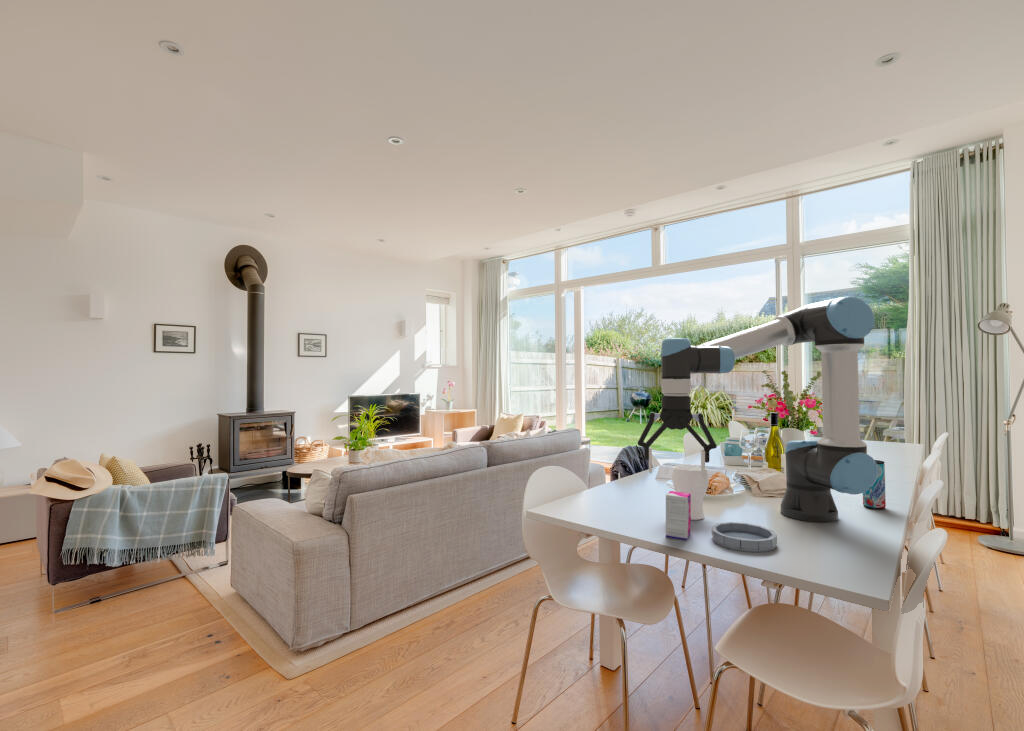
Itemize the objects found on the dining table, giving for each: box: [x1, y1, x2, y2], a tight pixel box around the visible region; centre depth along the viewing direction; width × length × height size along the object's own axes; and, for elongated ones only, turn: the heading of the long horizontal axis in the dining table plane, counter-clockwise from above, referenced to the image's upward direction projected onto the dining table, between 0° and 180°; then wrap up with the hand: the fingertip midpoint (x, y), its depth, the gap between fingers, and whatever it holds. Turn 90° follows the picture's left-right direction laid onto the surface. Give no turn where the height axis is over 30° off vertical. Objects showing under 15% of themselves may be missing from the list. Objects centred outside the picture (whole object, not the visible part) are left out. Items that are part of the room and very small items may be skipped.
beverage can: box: [862, 459, 887, 511], centre depth 158 cm, size 6×6×15 cm
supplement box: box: [665, 490, 692, 541], centre depth 132 cm, size 6×6×12 cm
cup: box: [671, 464, 710, 521], centre depth 150 cm, size 11×11×15 cm
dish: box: [711, 521, 778, 553], centre depth 127 cm, size 15×15×3 cm
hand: (676, 473), depth 132 cm, fingers open, 13 cm apart
